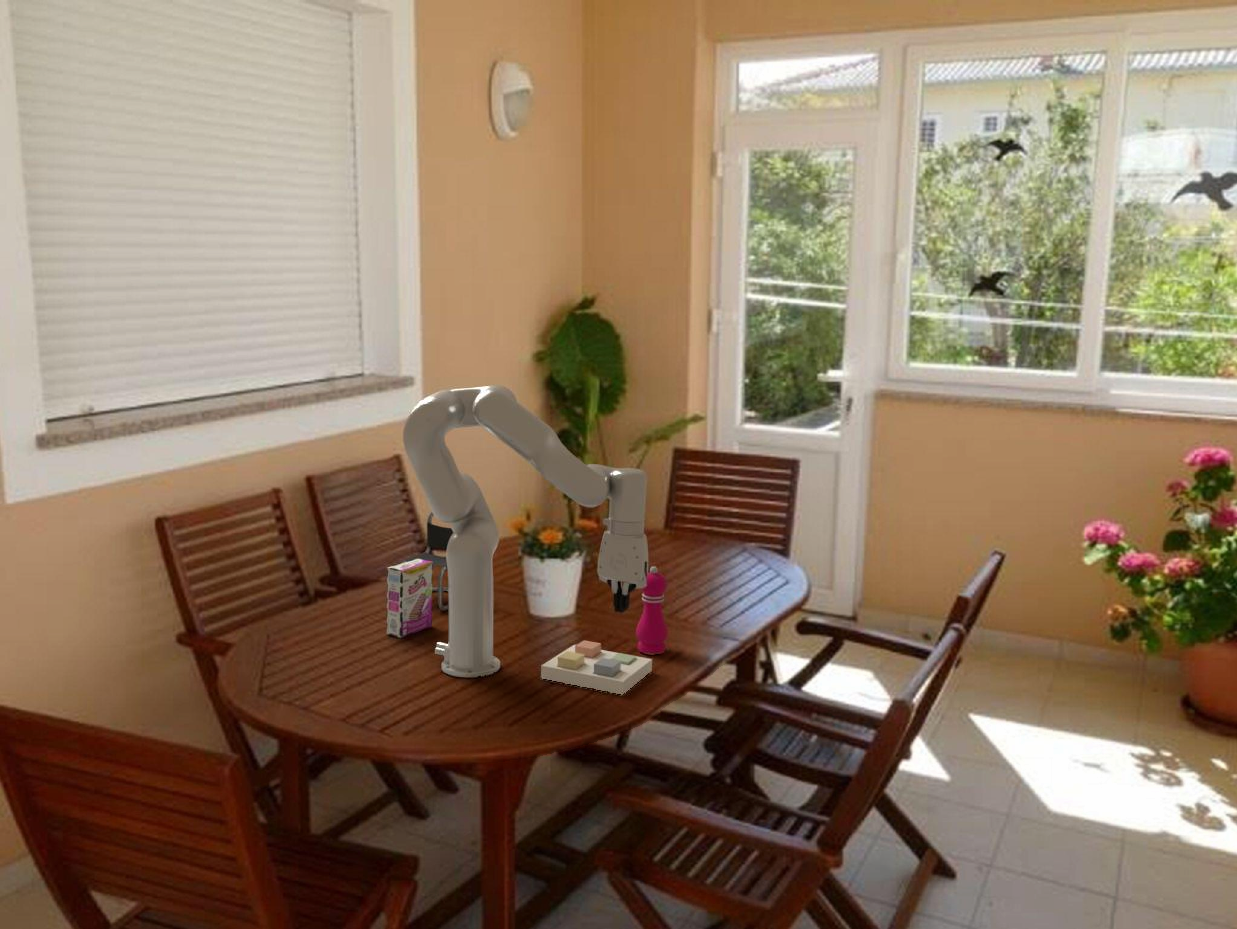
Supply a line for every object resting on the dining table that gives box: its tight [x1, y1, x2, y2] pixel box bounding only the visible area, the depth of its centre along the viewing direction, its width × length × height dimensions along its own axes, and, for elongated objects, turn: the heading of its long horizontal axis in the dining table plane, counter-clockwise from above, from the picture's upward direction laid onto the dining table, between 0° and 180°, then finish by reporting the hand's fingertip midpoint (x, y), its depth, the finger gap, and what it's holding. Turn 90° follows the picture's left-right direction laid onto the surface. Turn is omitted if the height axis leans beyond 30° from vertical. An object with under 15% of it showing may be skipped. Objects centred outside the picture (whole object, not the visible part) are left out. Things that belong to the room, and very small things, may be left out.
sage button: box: [611, 652, 637, 665], centre depth 233 cm, size 4×4×2 cm
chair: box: [400, 511, 453, 612], centre depth 280 cm, size 13×17×22 cm
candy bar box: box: [386, 559, 434, 639], centre depth 256 cm, size 11×5×16 cm, turn 149°
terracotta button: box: [575, 640, 602, 659], centre depth 236 cm, size 4×4×2 cm
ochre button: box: [558, 651, 585, 670], centre depth 229 cm, size 4×4×2 cm
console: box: [540, 644, 653, 696], centre depth 231 cm, size 19×15×3 cm
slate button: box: [594, 658, 621, 677], centre depth 225 cm, size 4×4×2 cm
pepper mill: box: [635, 566, 669, 653], centre depth 246 cm, size 7×7×20 cm
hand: (620, 610), depth 231 cm, fingers closed
